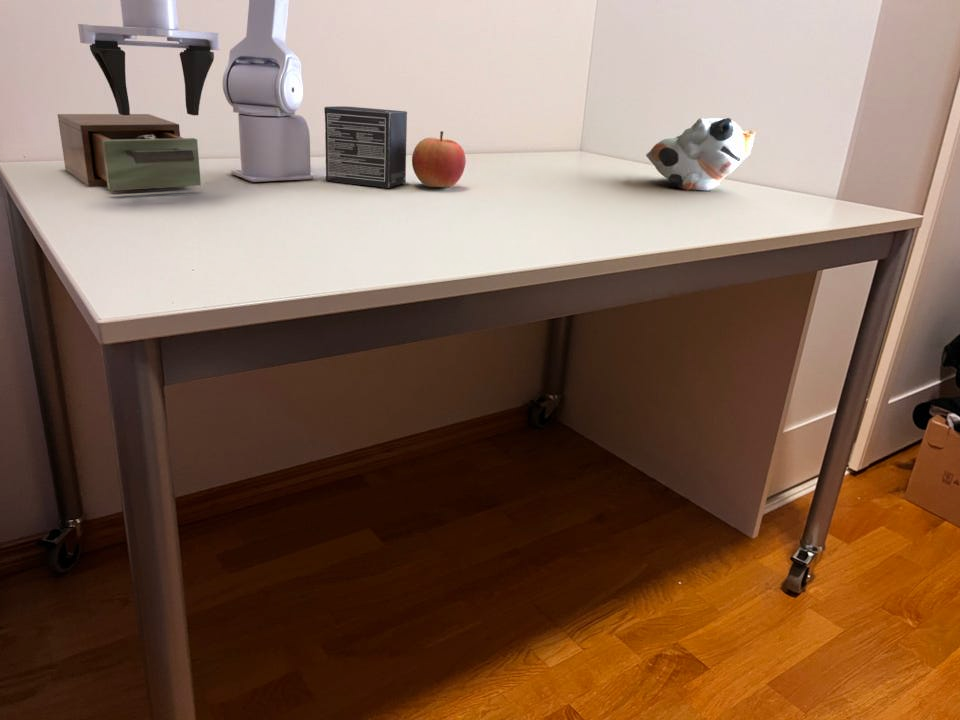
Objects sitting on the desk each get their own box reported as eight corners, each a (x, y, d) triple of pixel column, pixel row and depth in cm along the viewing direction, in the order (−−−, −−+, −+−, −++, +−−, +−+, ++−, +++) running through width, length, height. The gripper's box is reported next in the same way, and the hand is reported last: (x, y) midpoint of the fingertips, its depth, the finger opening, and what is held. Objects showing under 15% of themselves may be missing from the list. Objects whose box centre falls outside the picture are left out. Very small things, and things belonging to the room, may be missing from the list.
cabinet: (184, 181, 105) (179, 124, 102) (88, 186, 98) (80, 125, 95) (154, 166, 114) (149, 114, 111) (65, 170, 107) (57, 114, 104)
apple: (440, 181, 118) (442, 127, 115) (475, 189, 112) (478, 133, 109) (399, 184, 112) (400, 128, 109) (434, 193, 107) (436, 135, 104)
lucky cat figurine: (693, 177, 137) (744, 110, 130) (725, 216, 130) (781, 147, 122) (632, 152, 130) (682, 80, 122) (662, 192, 122) (717, 117, 114)
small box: (408, 183, 114) (409, 110, 110) (389, 189, 108) (390, 112, 104) (345, 175, 117) (344, 104, 113) (323, 181, 111) (322, 106, 107)
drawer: (214, 192, 94) (211, 144, 92) (121, 198, 88) (115, 146, 86) (170, 170, 107) (166, 127, 105) (85, 174, 100) (79, 128, 98)
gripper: (82, -24, 76) (100, 118, 81) (225, -10, 84) (233, 118, 89) (67, -22, 81) (85, 111, 86) (204, -9, 89) (212, 112, 95)
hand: (159, 114), depth 88 cm, fingers open, 7 cm apart
